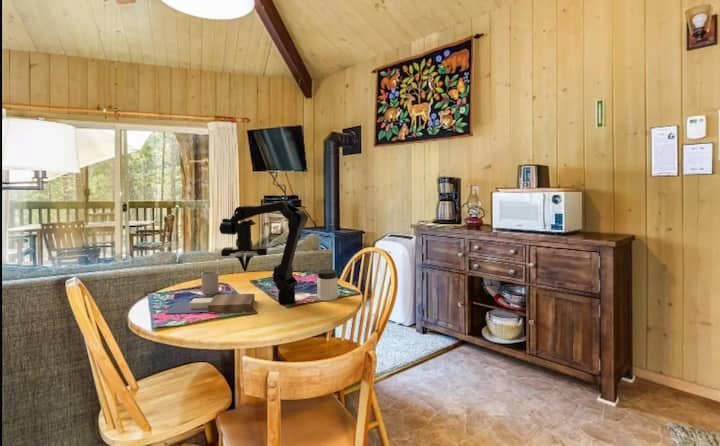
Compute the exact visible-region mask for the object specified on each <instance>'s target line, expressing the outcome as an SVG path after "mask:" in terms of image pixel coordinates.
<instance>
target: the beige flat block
mask: <svg viewBox="0 0 720 446" xmlns="http://www.w3.org/2000/svg"><path fill="white" fill-rule="evenodd" d="M213 298H214V297H197V298H196V297H195V298H192V300H191V301H189V302H190V309H199V308H208V305H209V304H210V302H211V301H212V299H213Z"/></svg>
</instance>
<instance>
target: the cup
mask: <svg viewBox="0 0 720 446" xmlns="http://www.w3.org/2000/svg"><path fill="white" fill-rule="evenodd" d="M200 274H201V275H200V277H201V293H202V294H203V293H204V294H203V295H214V294H213V293H215V294H218V293H219V292H220V291H219V290H220V289H219V288H220V286H219V282H220V281H219V271H217V270H216V271H215V270H209V271H202V272H201V273H200Z"/></svg>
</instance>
